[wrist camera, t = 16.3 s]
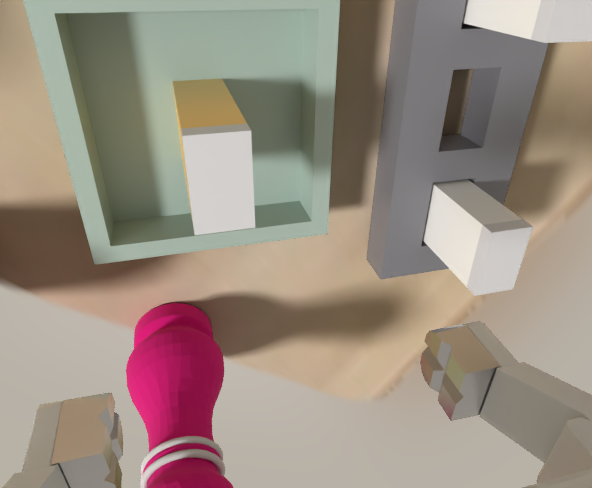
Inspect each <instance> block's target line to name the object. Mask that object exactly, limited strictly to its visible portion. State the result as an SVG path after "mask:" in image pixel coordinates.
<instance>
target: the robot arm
mask: <svg viewBox="0 0 592 488" xmlns="http://www.w3.org/2000/svg"><path fill="white" fill-rule="evenodd" d="M425 343H426V344H427V345H428V347H427V348H426V349H425V350H424V352H423V353H422V356H421V362H420V363H421V369H422V373H423V376H424V378H425V381H426V382H427V384H428V385H429V387H430V388H432V389H434V390H435V391H437V392H439V395H438V401H439V403H440V405H441V406H442V407H443V409H444V411H445V412H446V414H447V416H448V417H449V419H450V420H451V421H452V420H457V419H462V418H466V417H471V416H476V415H480V417H481V418H482V419H484V420H485V421H487V422H488V423H489V424H491V425H492V426H494V427H495V428H496V429H498V430H499V431H501V432H502V433H503V434H505V435H506V436H508V437H509V438H510V439H512V440H513V441H515V442H516V443H518V444H519V445H520V446H522V447H523V448H524V449H526V450H527V451H529V452H530V453H531V454H533V455H534V456H536V457H537V458H538V459H540V460H541V461H543V462H544V463H545V464H544V466H543V468H542V469H541V471H540V473H539V475H538V478H537V484H534V485H530V486H527V487H523V488H592V395H590V394H588V393H586V392H584V391H582V390H580V389H578V388H576V387H574V386H572V385H570V384H568V383H565V382H564V381H561V380H559V379H558V378H555V377H553V376H551V375H549V374H547V373H545V372H543V371H541V370H539V369H537V368H535V367H533V366H531V365H529V364H527V363H525V362H522V363H519V362H518V361H517V360H516V359H515V358H514V357H513V356H512V354H511V353H510V352H509V351H508V350H507V349H506V348H505V347H504V345H503V344H502V343H501V342H500V341H499V340H498V339H497V338H496V336H495V335H494V334H493V333H492V332H491V331H490V330H489V328H488V327H487V326H486V325H485V324H484V323H482V322H480V321H477V322H472V323H467V324H463V325H456V326H451V327H446V328H441V329H436V330H431V331H429V332H428V333H427V334H426V338H425ZM114 408H115V401H114V398H113V396H112V393H105V394H99V395H93V396H87V397H81V398H75V399H70V400H64V401H59V402H53V403H48V404H41V405H40V406H39V408H38V409H37V411H36V414H35V418H34V422H33V427H32V431H31V435H30V439H29V444H28V448H27V452H26V457H25V461H24V465H23V470H22V472H20V473H16V474H14V475H13V476H12V477H11V478H10V479H9V481H8V482H7V483H6V484H5V485H4V486H3V488H121V480H122V472H121V469H120V466H119V463H118V461H119V459H120V458H121V456H122V455H123V435H122V426H121V421H120V418H119V415H118V414H117V413H115V412H114Z"/></svg>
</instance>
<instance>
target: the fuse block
mask: <svg viewBox="0 0 592 488" xmlns="http://www.w3.org/2000/svg"><path fill="white" fill-rule="evenodd" d="M465 4H466V0H395V8H394V17H393V27H392V36H391V45H390V54H389V63H388V72H387V81H386V90H385V99H384V108H383V117H382V126H381V135H380V144H379V153H378V162H377V171H376V180H375V189H374V198H373V207H372V216H371V225H370V234H369V243H368V252H367V260H368V262H369V263H370V265H371V266H372V268H373V269H374V270H375V272H376V273H377V275H378V276H379V278H380V279H386V278H392V277H399V276H405V275H411V274H417V273H424V272H430V271H436V270H442V269H449V268H448V267H447V266H446V264H445V263H444V262H443V261H442V260H441V259H440V258H439V257H438V256H437V255H436V254H435V253H434V252H433V251H432V250H431V249H430V247H429V246H428V245H427V244H426V243H425V242H424V241H423V240H422V239H423V234H424V228H425V223H426V217H427V212H428V206H429V201H430V196H431V190H432V185H433V183H435V182H444V181H453V180H462V179H468V180H469V181H471V182H472V183H473V184H475V185H476V186H478V187H479V188H480V189H482V190H483V191H484V192H486V193H487V194H489V195H490V196H491V197H493V198H494V199H495V200H497V201H498V202H500V203H501V204H502V205H503V204H504V201H505V197H506V194H507V190H508V187H509V183H510V179H511V176H512V172H513V169H514V165H515V162H516V158H517V154H518V151H519V147H520V144H521V140H522V137H523V133H524V129H525V126H526V122H527V119H528V115H529V112H530V108H531V104H532V101H533V97H534V94H535V90H536V87H537V83H538V79H539V76H540V72H541V69H542V65H543V61H544V58H545V54H546V51H547V47H548V44H549V43H543V42H539V41H534V40H530V39H526V38H522V37H518V36H514V35H510V34H506V33H502V32H497V31H493V30H489V29H485V28H481V27H477V26H473V25H469V24H464V23H462V21H463V15H464V10H465ZM459 69H474V70H473V75H472V80H471V84H470V89H469V94H468V99H467V104H466V109H465V114H464V119H463V123H462V128H461V133H460V134H457V135H445V136H441V135H442V130H443V125H444V119H445V114H446V108H447V103H448V97H449V92H450V86H451V81H452V75H453V70H459Z"/></svg>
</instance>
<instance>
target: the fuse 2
mask: <svg viewBox="0 0 592 488" xmlns="http://www.w3.org/2000/svg"><path fill="white" fill-rule="evenodd" d="M532 229H533V226H531V225H530V224H529V223H527V222H526V221H524V220H523V219H522V218H520V217H519V216H518V215H516V214H515V213H513V212H512V211H511V210H509V209H508V208H507V207H505V206H504V205H502V204H501V203H500V202H498V201H497V200H495V199H494V198H493V197H491V196H490V195H489V194H487V193H486V192H484V191H483V190H482V189H480V188H479V187H478V186H476V185H475V184H473V183H472V182H471V181H469V180H468V179H462V180H453V181H444V182H435V183H433V185H432V190H431V196H430V201H429V206H428V212H427V217H426V223H425V228H424V234H423V239H422V240H423V241H424V242H425V243H426V244H427V245H428V246H429V247H430V249H431V250H432V251H433V252H434V253H435V254H436V255H437V256H438V257H439V258H440V259H441V260H442V261H443V262H444V263H445V264H446V266H447V267H448V268H449V269H450V270H451V271H452V272H453V273H454V274H455V275H456V276H457V277H458V278H459V279H460V280H461V282H462V283H463V284H464V285H465V286H466V287H467V288H468V289H469V290H470V291H471V292H472V293H473V294H474V295H475V296H476V295H482V294H488V293H493V292H499V291H504V290H510V289H513V287H514V284H515V281H516V278H517V275H518V272H519V269H520V266H521V262H522V259H523V256H524V253H525V250H526V247H527V244H528V241H529V238H530V235H531V232H532Z"/></svg>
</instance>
